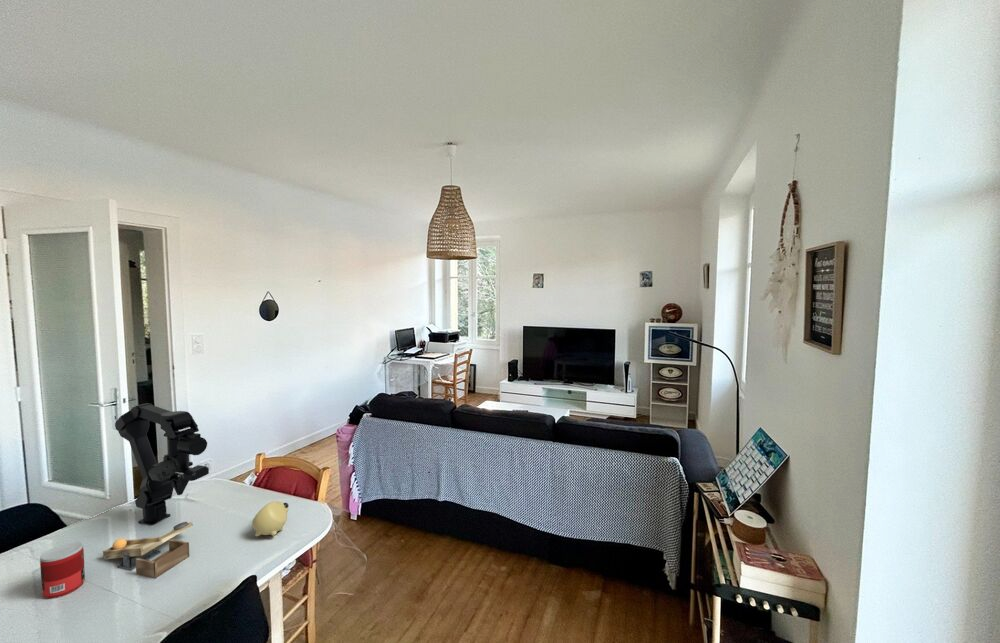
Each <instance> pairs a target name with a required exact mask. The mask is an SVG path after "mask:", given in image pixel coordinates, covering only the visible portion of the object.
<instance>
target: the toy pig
mask: <svg viewBox="0 0 1000 643" xmlns="http://www.w3.org/2000/svg"><path fill="white" fill-rule="evenodd" d="M288 511H289V503H288V502H283V501H270V502H268V503H266V505H264V506H263V507H262V508H261V509H260V510H259V511H258V512H257V513H256V515H255V516H254V518H253V520H252V522H251V523H252V527H253V530H254V531H255V536H256V537H259V536H261V535H264V536H267V535H268V536H269V535H271V536H276V535H277V532H282V531H283V529H284V526H285V524H286V522H287V520H288Z"/></svg>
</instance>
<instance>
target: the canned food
mask: <svg viewBox="0 0 1000 643" xmlns="http://www.w3.org/2000/svg"><path fill="white" fill-rule="evenodd" d="M84 552H85V551H84V543H83V542H82V541H70V542H65V543H62V544H59V545H56V546H54V547H52V548H49V549H48V550H46V551H44V552H43V553H42V554H41V555H40V557H39V567H40V578H41V580H40V582H41V594H42V597H43V598H45V599H49V600H50V599H57V598H61V597H64V596H66V595H68V594H71V593H72V592H75V591H76V590H78V589H79V588H80V587H82V586H83V584H84V582H85V580H86V575H85V574H86V573H85V553H84Z"/></svg>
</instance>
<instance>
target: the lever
mask: <svg viewBox="0 0 1000 643" xmlns="http://www.w3.org/2000/svg"><path fill="white" fill-rule="evenodd" d="M193 526H194V524H193V522H188V521H182V522H180V523H177V524H176V525H174V526H173V528H172V530H170V531H168V532H166V533H164V534H163V535H161V536H154V537H147V538H144V537H143V538H138V539H137V538H136V539H128V540H127V539H125V540H126V541H127V544H126V546H125V547H124V548H123V549H118V550H114V549H113V547H112V546H111V547H109V548H107V549H106V550H104V551H102V554H103V557H104V560H108V559H109V560H111V559H121V558H122V559H123V554H124V553H129V557H133V556H142V555H144V554H145V553H147V552H149V551H150V550H152V549H154V548H155V549H156V548H158V547H159V546H160V545H162V544H164V543H165V542H167V541H169V540H170V539H172V538H174V537H176V536H177V535H179V534H181V533H183V532H184V531H186V530H187V529H190V528H191V527H193Z"/></svg>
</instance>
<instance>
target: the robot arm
mask: <svg viewBox="0 0 1000 643" xmlns="http://www.w3.org/2000/svg"><path fill="white" fill-rule="evenodd" d="M150 422H152V423H155V424H158V425H160V429H161V430H163V432H165V433H164V434H163V437H165V438H166V442H167V444H166V446H167V447H166V448H167V454H165V455H163V456H164V457H163V460H162V461H160V462H157V459H156V458H155V455H154V452H153V449H152V447H151V446H152V445H151V443H150V441H149V438H148V435H147V434H148V432H149V428H150ZM114 427H115V429H116V431H117V432H118V435H120V437H122V438H123V439H124V440H126V441H128V443H129V445H130V448H131V450H132V451H131V452H132V453H133V456H134V459H135V461H136V464H137V467H138V469H139V474H140V476H141V479H142V480H141V483H140V487H139V493H140V494H139V495H138V496H137V497H136V499H135V500H134V503H135V507H136V508H139V509H142V519H140V520H138V524H142V525H143V524H144V525H148V526H149V525H150V526H154V525H156V524H158V523H160V522H162V521H163V520H165V519H167V518H169V517H171V515H172V514H171V513H167V503H166V501H167V500H170V499H172V496H173V492H174V491H175V493H176V495H177V496H181V495H183V493H184V492H185V489H186V487H187V486H188V484H189V482H194V481H197V480H199V479H200V478H203V477H206V476H207V475H210V474H209V473H210V469H209V467H208V466H207V465H199V464H198V465H194V464H193V462H192V461H190V455H192V456H200V455H202V454H203V453H204V452H206V449H207V447H208V441H207V440H206V439H205V437H201V436H202V434H201V433H198V432H200V429H199V428H198V424H197V423H196V421H195V419H194V417H193V416H192V414H191V413H190V412H188V411H184V410H178V411H177V410H176V411H171V410H167V409H165V408H162V407H159V406H156V405H153V403H148V402H147V403H142V404H137V405H135V406H133V407H132V408H130V410H129V411H127V412H125V413H123V414H122V415H120V416H119V417H118V419H117V420H116V421H115V422H114ZM193 465H194V466H193ZM192 466H193V467H192Z"/></svg>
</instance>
